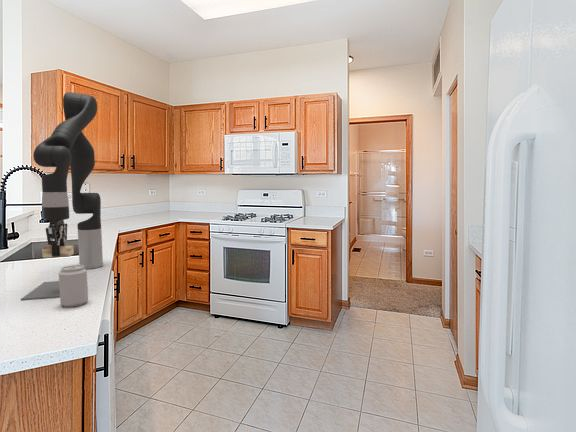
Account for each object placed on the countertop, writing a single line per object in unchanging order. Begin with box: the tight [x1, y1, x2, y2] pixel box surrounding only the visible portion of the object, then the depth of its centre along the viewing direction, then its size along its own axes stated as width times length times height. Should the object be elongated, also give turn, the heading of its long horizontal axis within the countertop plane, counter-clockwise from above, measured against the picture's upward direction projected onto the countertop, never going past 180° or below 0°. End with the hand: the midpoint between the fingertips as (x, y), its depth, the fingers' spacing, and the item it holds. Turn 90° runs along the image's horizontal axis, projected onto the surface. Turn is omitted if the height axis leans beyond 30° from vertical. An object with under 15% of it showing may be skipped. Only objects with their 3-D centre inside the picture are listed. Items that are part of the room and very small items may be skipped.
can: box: [58, 264, 89, 308], centre depth 111 cm, size 8×8×12 cm
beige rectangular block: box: [41, 245, 75, 259], centre depth 121 cm, size 8×5×3 cm, turn 106°
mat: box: [20, 280, 60, 301], centre depth 126 cm, size 20×14×1 cm
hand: (58, 254), depth 121 cm, fingers closed on beige rectangular block, 4 cm apart
